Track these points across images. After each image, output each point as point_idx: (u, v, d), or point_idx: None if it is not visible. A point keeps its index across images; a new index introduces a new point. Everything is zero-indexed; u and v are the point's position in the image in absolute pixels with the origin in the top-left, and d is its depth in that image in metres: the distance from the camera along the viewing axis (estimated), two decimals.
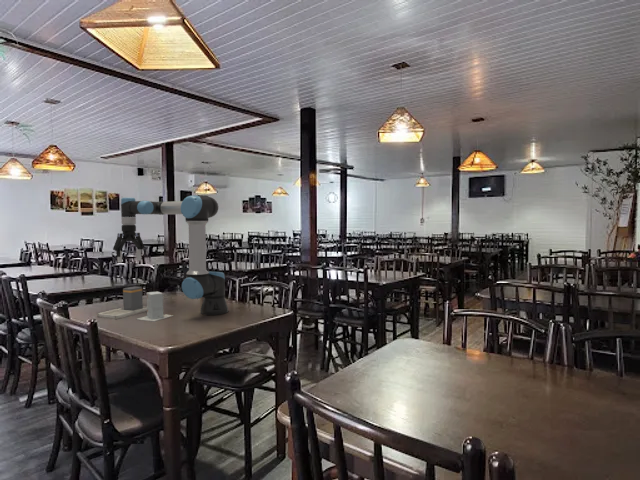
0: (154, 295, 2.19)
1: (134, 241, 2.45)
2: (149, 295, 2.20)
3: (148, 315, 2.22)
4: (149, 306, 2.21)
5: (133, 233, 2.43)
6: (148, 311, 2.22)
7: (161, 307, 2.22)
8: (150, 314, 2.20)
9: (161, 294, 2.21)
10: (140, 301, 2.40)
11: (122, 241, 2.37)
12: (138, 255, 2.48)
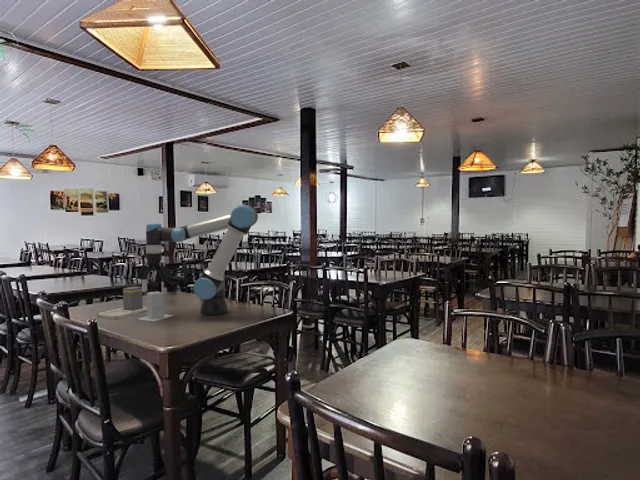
0: (154, 295, 2.19)
1: None
2: (149, 295, 2.20)
3: (148, 315, 2.22)
4: (149, 306, 2.21)
5: (155, 262, 2.20)
6: (148, 311, 2.22)
7: (161, 307, 2.22)
8: (150, 314, 2.20)
9: (161, 294, 2.21)
10: (140, 301, 2.40)
11: None
12: None
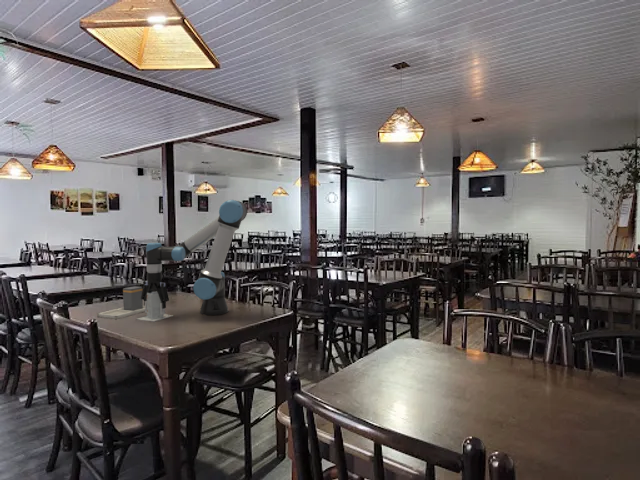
0: (154, 295, 2.19)
1: None
2: (149, 295, 2.20)
3: (148, 315, 2.22)
4: (149, 306, 2.21)
5: (156, 281, 2.21)
6: (148, 311, 2.22)
7: None
8: (150, 314, 2.20)
9: None
10: (140, 301, 2.40)
11: None
12: None
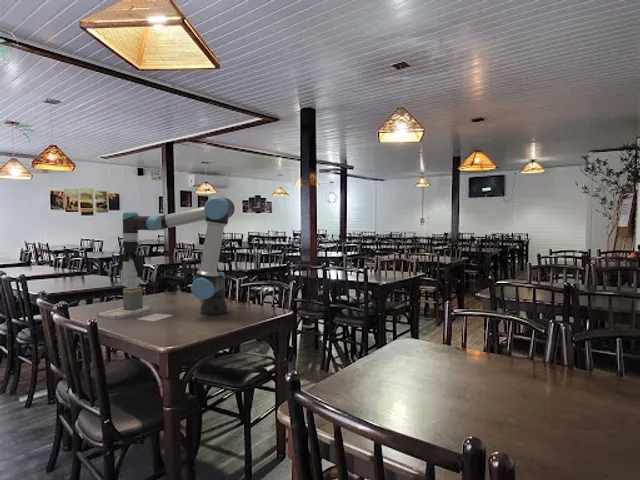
0: (129, 263, 2.21)
1: None
2: (125, 263, 2.22)
3: (123, 283, 2.24)
4: (124, 274, 2.22)
5: (132, 250, 2.23)
6: (124, 279, 2.24)
7: None
8: (125, 283, 2.22)
9: None
10: (140, 301, 2.40)
11: None
12: None
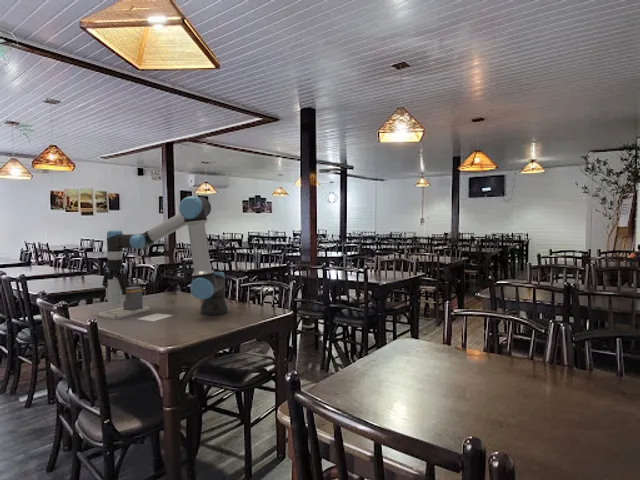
0: (114, 281, 2.23)
1: None
2: (109, 281, 2.25)
3: (108, 301, 2.27)
4: (109, 292, 2.25)
5: (116, 268, 2.25)
6: (109, 297, 2.26)
7: None
8: (110, 300, 2.24)
9: None
10: (140, 301, 2.40)
11: None
12: None
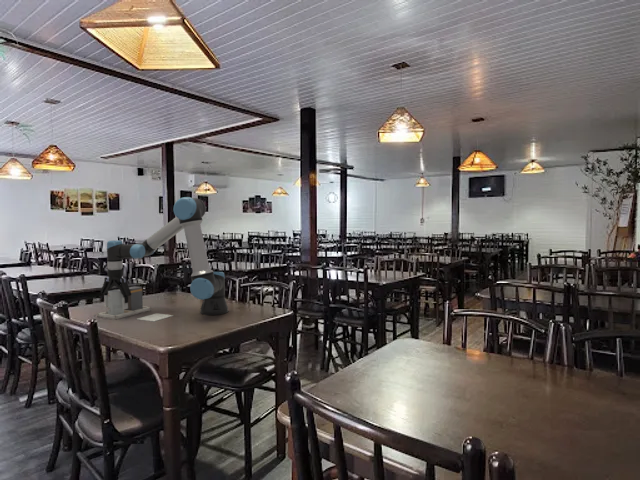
0: (114, 293, 2.24)
1: None
2: (110, 293, 2.25)
3: (109, 313, 2.27)
4: (110, 304, 2.25)
5: (116, 278, 2.25)
6: (109, 309, 2.26)
7: (122, 305, 2.26)
8: (111, 312, 2.24)
9: None
10: (140, 301, 2.40)
11: None
12: None
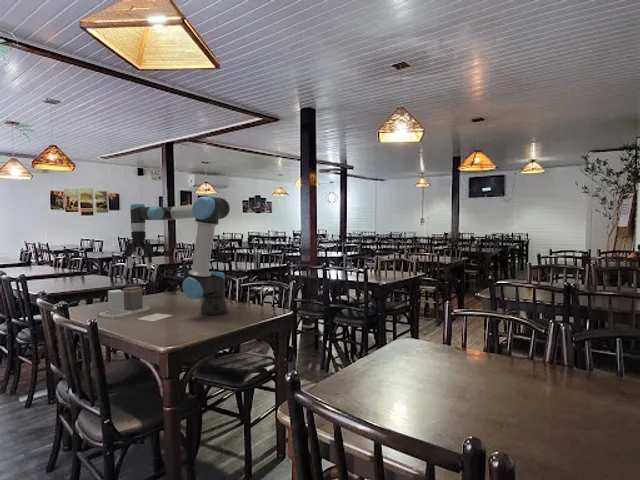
0: (114, 293, 2.24)
1: None
2: (110, 293, 2.25)
3: (109, 313, 2.27)
4: (110, 304, 2.25)
5: (140, 240, 2.36)
6: (109, 309, 2.26)
7: (122, 305, 2.26)
8: (111, 312, 2.24)
9: (122, 292, 2.26)
10: (140, 301, 2.40)
11: None
12: None
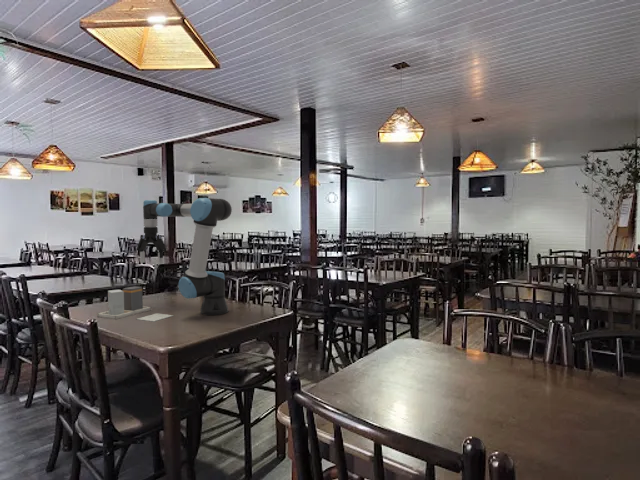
0: (114, 293, 2.24)
1: None
2: (110, 293, 2.25)
3: (109, 313, 2.27)
4: (110, 304, 2.25)
5: (152, 235, 2.43)
6: (109, 309, 2.26)
7: (122, 305, 2.26)
8: (111, 312, 2.24)
9: (122, 292, 2.26)
10: (140, 301, 2.40)
11: None
12: None
